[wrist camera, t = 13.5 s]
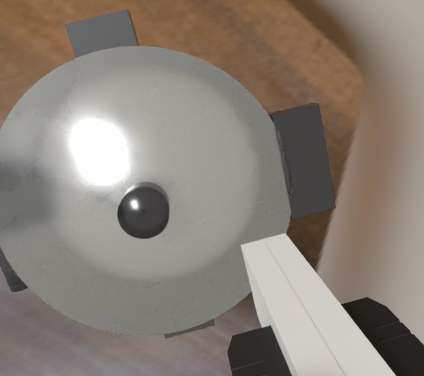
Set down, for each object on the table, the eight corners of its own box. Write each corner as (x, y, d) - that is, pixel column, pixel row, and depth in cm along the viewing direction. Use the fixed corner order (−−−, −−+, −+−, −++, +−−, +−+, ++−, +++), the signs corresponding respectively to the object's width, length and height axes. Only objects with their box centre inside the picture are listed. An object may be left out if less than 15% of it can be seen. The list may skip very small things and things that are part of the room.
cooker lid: (46, 353, 28) (28, 390, 25) (-64, 93, 23) (-105, 95, 20) (339, 275, 29) (361, 301, 26) (294, 5, 24) (314, -8, 20)
